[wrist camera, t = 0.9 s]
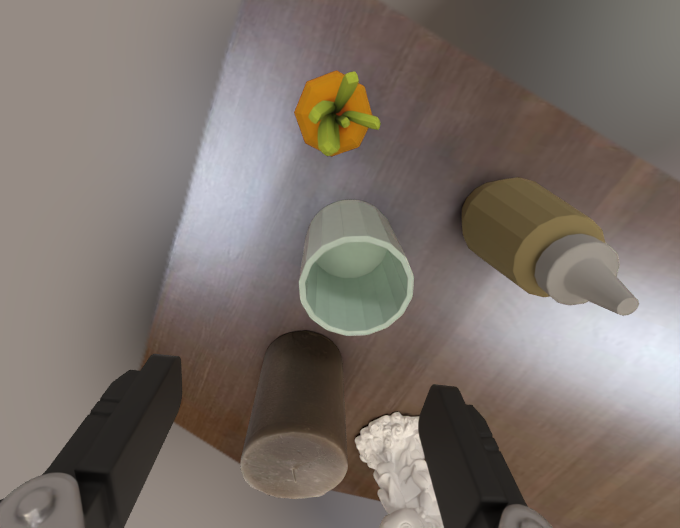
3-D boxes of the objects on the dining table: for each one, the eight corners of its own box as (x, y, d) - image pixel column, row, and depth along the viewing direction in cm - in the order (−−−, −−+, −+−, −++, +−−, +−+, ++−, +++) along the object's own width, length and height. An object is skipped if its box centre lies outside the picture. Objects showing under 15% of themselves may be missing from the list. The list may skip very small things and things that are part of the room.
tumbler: (303, 201, 34) (294, 238, 25) (393, 197, 34) (417, 233, 25) (309, 280, 38) (303, 338, 29) (390, 277, 38) (409, 333, 29)
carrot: (334, 64, 29) (340, 36, 16) (371, 113, 31) (405, 125, 17) (291, 107, 30) (264, 115, 17) (329, 151, 32) (331, 190, 19)
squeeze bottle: (434, 227, 36) (523, 335, 20) (481, 154, 33) (632, 212, 16) (496, 257, 38) (624, 380, 21) (546, 191, 34) (739, 276, 18)
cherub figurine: (399, 392, 46) (446, 583, 28) (463, 429, 49) (541, 620, 32) (339, 446, 50) (346, 642, 32) (402, 477, 54) (440, 668, 36)
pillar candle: (310, 316, 40) (302, 428, 27) (357, 368, 44) (370, 489, 30) (247, 356, 42) (210, 477, 29) (296, 401, 46) (284, 528, 32)
